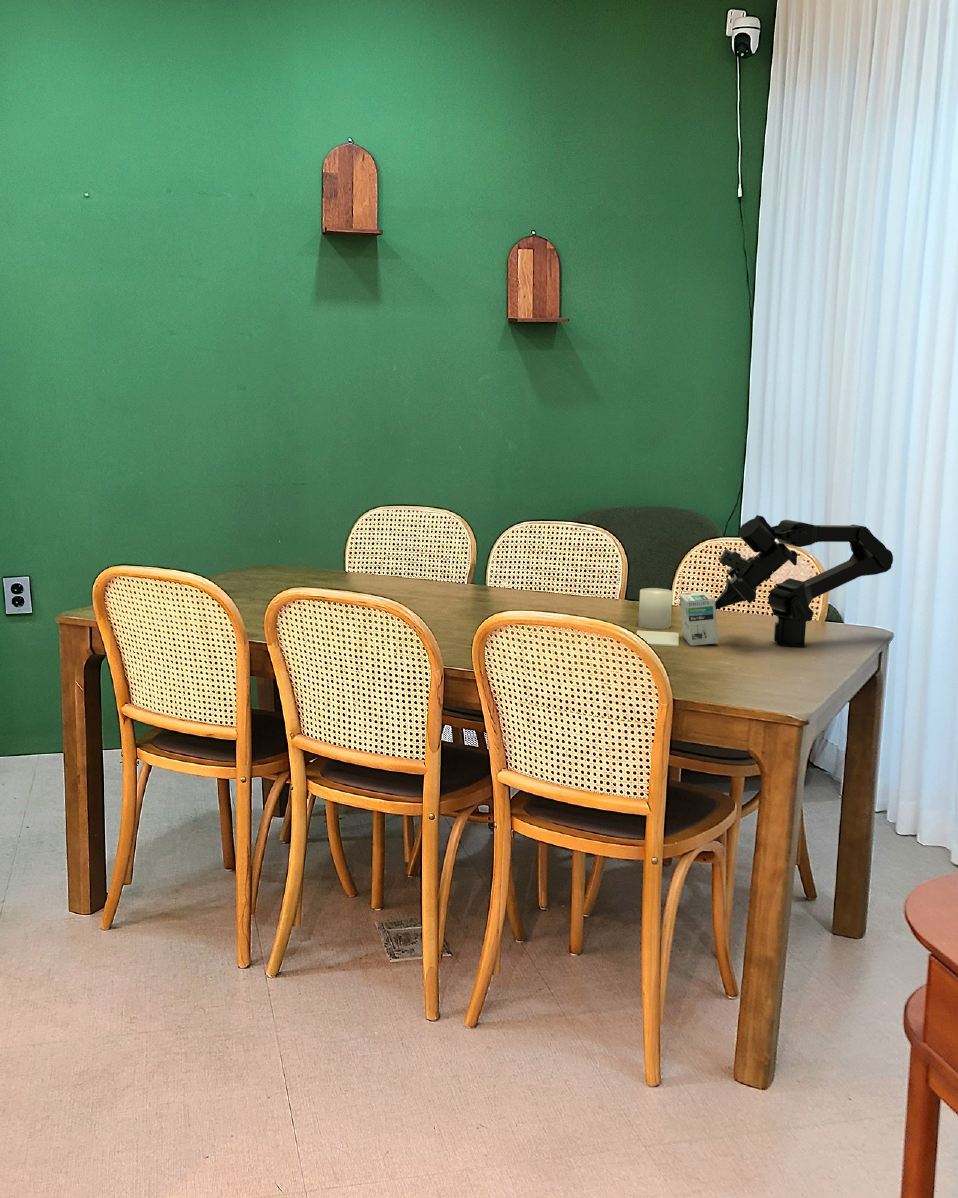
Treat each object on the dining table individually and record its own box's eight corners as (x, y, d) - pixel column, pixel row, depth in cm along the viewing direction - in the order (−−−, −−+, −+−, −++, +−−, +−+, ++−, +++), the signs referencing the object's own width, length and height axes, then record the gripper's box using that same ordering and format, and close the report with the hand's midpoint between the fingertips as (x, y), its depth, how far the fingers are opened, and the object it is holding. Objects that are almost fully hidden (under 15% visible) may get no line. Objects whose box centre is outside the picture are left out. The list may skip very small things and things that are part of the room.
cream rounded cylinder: (670, 623, 281) (672, 588, 279) (670, 629, 273) (672, 594, 271) (639, 621, 282) (640, 587, 280) (637, 628, 274) (639, 592, 273)
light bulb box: (718, 643, 255) (716, 598, 253) (690, 646, 255) (686, 601, 253) (709, 634, 265) (706, 590, 263) (681, 636, 265) (678, 593, 263)
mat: (678, 634, 268) (678, 632, 268) (678, 646, 254) (678, 645, 254) (637, 632, 269) (637, 630, 269) (634, 644, 256) (634, 642, 256)
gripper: (738, 533, 263) (689, 576, 267) (744, 543, 245) (691, 589, 249) (770, 567, 263) (720, 610, 267) (778, 580, 245) (724, 625, 249)
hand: (713, 608), depth 258 cm, fingers closed
